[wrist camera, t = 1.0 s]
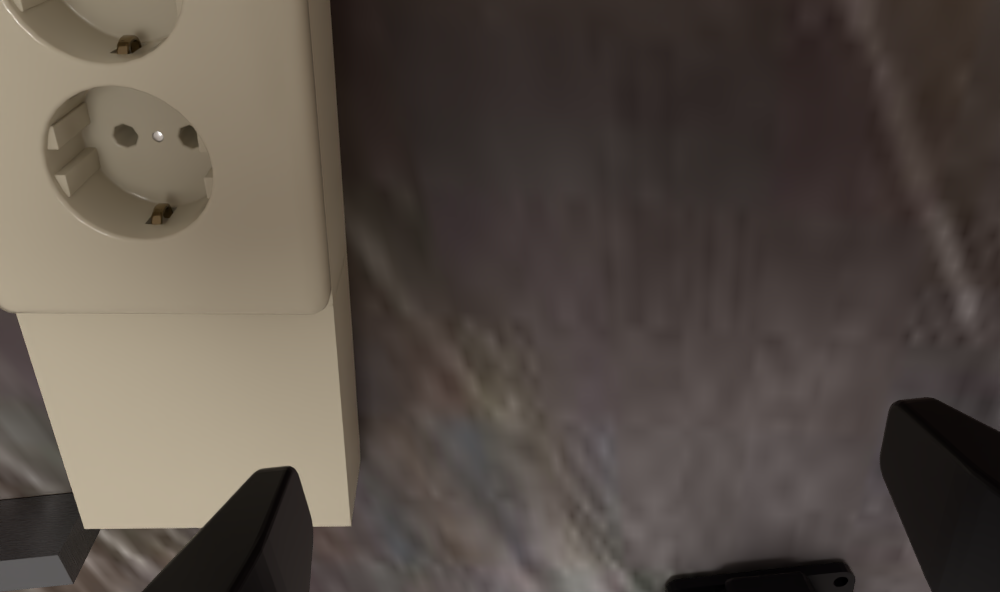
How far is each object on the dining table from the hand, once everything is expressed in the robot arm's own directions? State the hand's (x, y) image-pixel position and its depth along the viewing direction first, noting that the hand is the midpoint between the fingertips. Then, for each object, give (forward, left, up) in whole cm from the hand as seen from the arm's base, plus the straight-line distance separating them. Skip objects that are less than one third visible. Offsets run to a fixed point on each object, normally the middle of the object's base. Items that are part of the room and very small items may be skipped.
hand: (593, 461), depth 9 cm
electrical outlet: (-1, +8, -13) cm, 15 cm away
